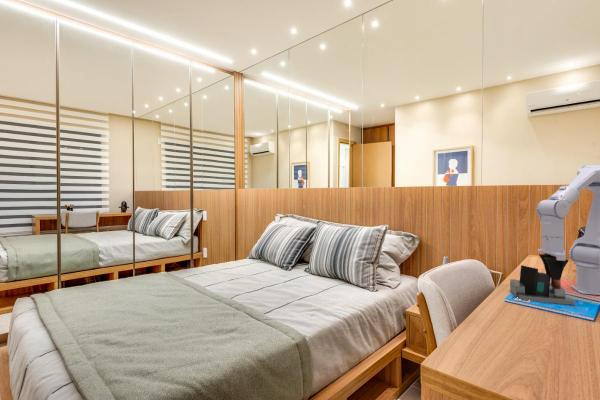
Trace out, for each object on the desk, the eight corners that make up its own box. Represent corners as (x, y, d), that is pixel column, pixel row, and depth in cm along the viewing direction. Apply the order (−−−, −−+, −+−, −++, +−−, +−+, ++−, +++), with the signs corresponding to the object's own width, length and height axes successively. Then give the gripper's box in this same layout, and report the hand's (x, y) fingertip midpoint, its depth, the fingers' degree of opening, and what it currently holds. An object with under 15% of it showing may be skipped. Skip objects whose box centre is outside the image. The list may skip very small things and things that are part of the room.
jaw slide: (556, 294, 102) (555, 265, 101) (565, 302, 94) (565, 271, 94) (546, 293, 103) (546, 265, 102) (555, 301, 95) (554, 270, 95)
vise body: (559, 293, 103) (559, 281, 103) (574, 305, 92) (574, 292, 92) (508, 288, 109) (508, 277, 109) (517, 299, 98) (517, 287, 98)
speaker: (529, 300, 97) (531, 268, 97) (517, 295, 103) (519, 265, 103) (554, 302, 97) (556, 270, 97) (540, 297, 103) (542, 267, 103)
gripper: (531, 233, 107) (531, 271, 107) (544, 239, 93) (545, 283, 94) (556, 233, 104) (556, 272, 104) (574, 240, 91) (574, 285, 91)
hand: (553, 277), depth 99 cm, fingers closed on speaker, 3 cm apart
